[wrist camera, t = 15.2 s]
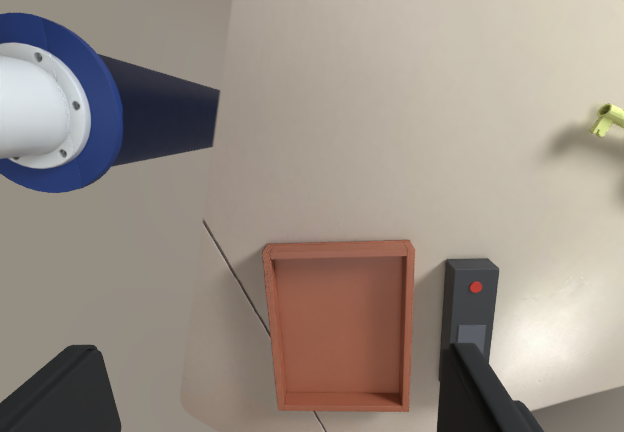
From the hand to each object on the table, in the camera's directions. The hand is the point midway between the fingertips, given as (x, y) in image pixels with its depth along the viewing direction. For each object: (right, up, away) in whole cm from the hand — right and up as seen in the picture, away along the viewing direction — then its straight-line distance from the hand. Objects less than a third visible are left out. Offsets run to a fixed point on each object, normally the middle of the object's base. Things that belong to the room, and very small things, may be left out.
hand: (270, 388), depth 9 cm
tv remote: (+18, -8, +28) cm, 35 cm away
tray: (+4, -8, +29) cm, 31 cm away
